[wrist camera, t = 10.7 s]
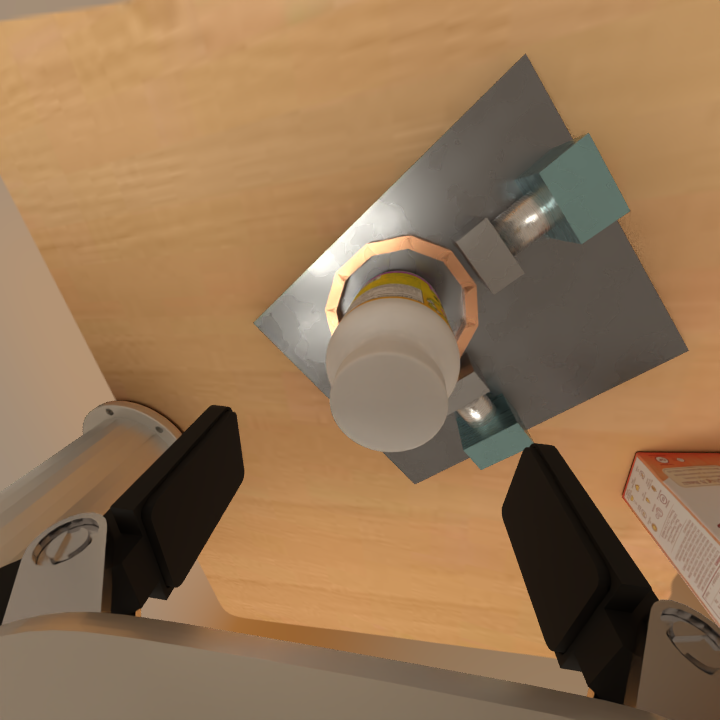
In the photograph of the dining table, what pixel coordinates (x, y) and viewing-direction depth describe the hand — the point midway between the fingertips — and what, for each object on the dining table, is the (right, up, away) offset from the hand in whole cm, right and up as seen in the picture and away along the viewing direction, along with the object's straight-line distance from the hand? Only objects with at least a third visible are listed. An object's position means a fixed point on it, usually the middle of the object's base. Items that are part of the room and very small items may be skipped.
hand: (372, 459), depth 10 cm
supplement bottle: (+2, +7, +14) cm, 15 cm away
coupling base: (+7, +6, +14) cm, 17 cm away
